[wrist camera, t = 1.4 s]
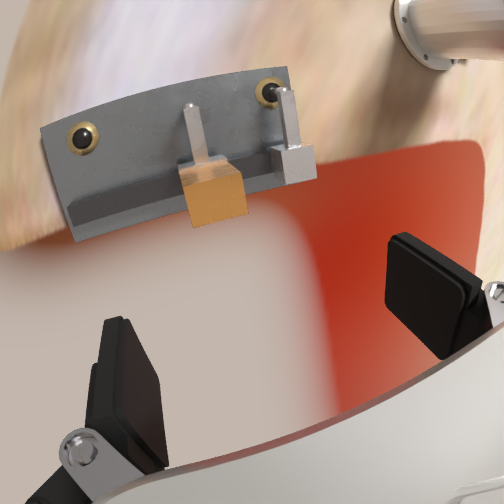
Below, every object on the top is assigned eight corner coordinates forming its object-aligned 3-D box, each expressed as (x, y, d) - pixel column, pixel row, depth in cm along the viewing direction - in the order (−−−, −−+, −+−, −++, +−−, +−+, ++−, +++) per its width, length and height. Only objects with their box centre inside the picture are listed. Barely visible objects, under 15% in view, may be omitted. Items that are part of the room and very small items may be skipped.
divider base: (281, 67, 28) (306, 60, 23) (298, 178, 34) (323, 192, 28) (44, 127, 24) (20, 132, 19) (78, 237, 30) (64, 262, 25)
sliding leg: (209, 98, 26) (226, 94, 19) (227, 189, 30) (249, 217, 23) (164, 109, 25) (164, 107, 18) (185, 199, 29) (194, 231, 22)
